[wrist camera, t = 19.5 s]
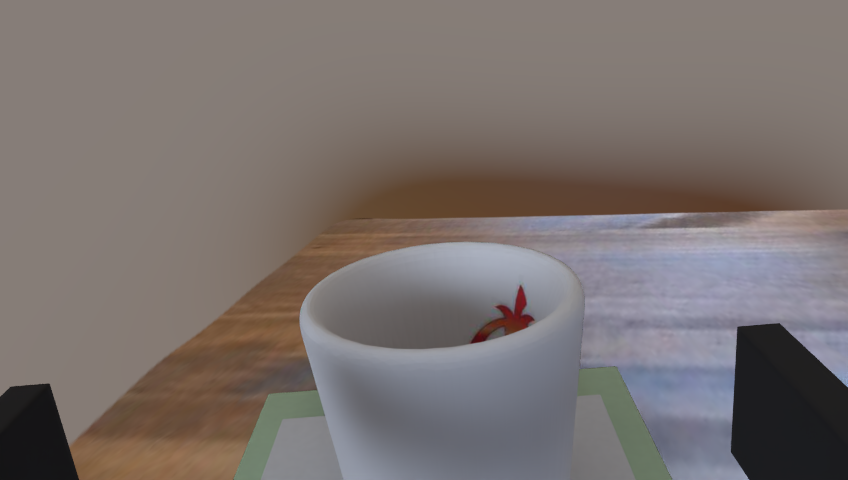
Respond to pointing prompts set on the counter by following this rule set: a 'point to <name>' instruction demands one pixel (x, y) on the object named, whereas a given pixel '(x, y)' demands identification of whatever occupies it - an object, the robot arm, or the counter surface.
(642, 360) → the counter surface
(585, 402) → the scale
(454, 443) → the cup
